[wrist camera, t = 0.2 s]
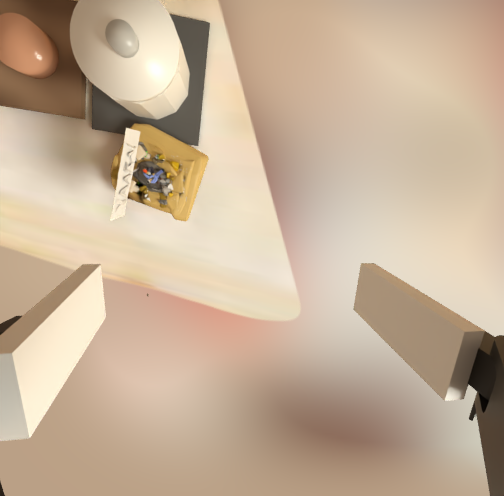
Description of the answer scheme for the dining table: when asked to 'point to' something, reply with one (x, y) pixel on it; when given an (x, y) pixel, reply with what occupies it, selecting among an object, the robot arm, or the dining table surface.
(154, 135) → the cake
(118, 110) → the mat
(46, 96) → the board
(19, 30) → the egg
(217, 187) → the dining table surface
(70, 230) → the dining table surface
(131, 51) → the pot with lid
